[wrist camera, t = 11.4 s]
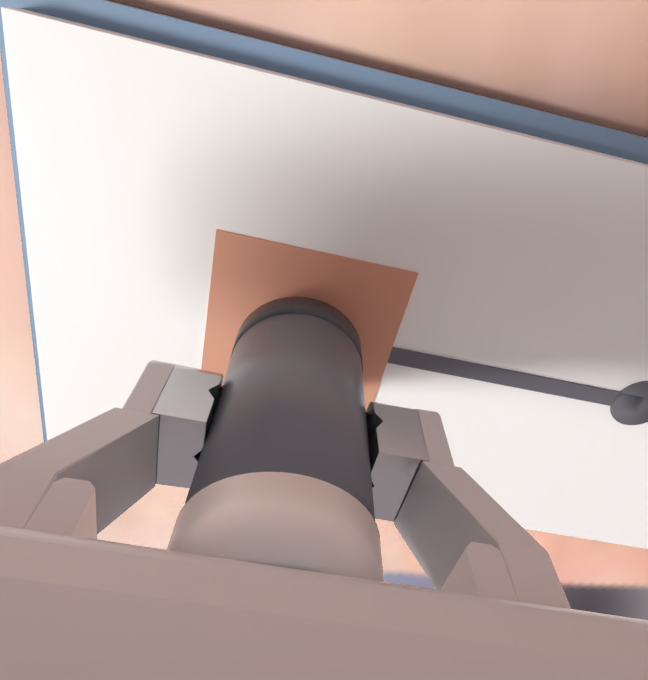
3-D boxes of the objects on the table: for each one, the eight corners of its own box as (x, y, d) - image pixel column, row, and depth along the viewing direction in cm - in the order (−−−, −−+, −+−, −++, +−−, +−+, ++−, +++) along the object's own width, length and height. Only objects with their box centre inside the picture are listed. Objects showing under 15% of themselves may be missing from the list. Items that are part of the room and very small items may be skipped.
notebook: (949, 214, 13) (1012, 232, 11) (659, 532, 19) (679, 565, 18) (8, -26, 10) (-33, -33, 9) (53, 431, 17) (32, 460, 16)
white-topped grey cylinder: (377, 310, 12) (420, 580, 6) (345, 412, 14) (354, 700, 8) (243, 283, 12) (150, 541, 6) (227, 390, 13) (143, 675, 8)
